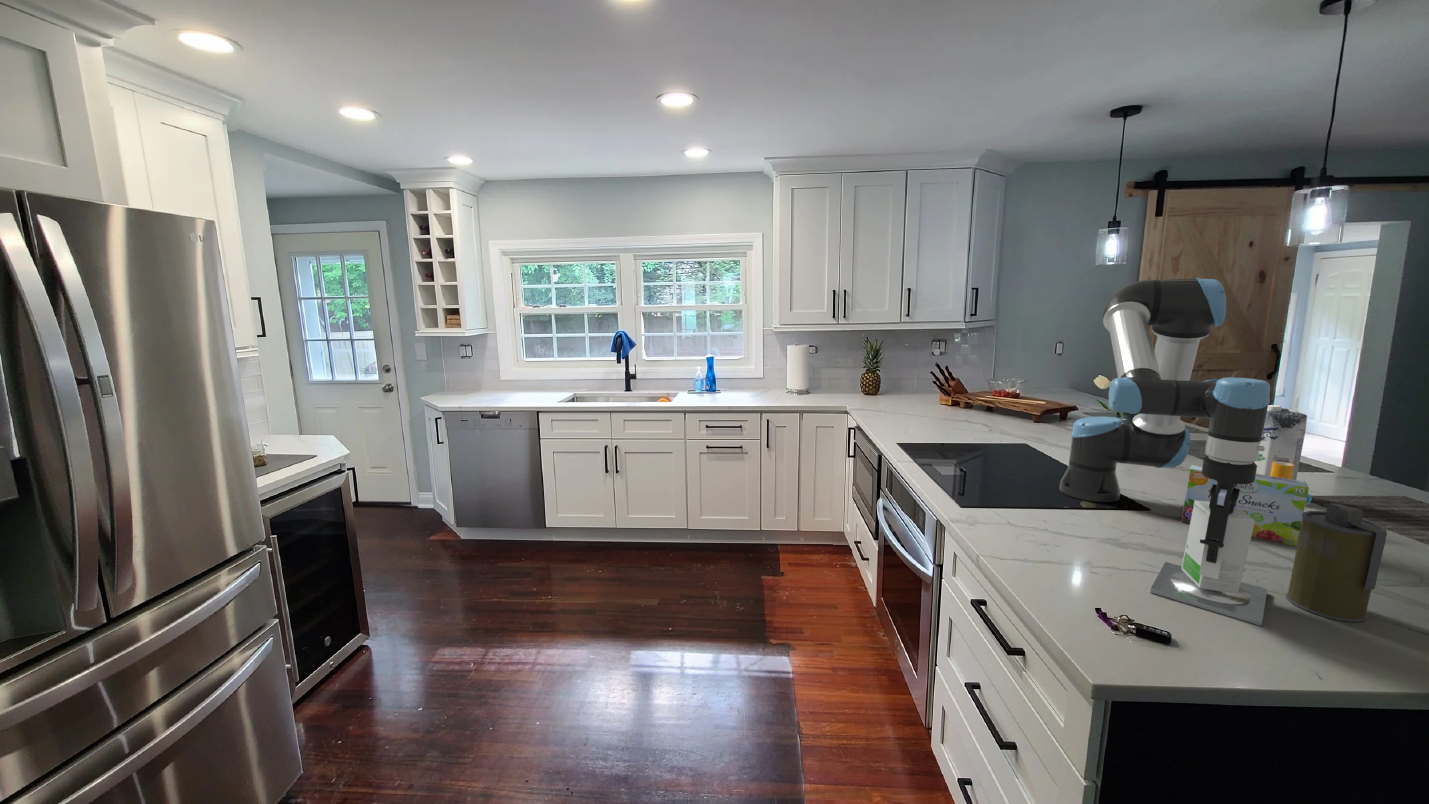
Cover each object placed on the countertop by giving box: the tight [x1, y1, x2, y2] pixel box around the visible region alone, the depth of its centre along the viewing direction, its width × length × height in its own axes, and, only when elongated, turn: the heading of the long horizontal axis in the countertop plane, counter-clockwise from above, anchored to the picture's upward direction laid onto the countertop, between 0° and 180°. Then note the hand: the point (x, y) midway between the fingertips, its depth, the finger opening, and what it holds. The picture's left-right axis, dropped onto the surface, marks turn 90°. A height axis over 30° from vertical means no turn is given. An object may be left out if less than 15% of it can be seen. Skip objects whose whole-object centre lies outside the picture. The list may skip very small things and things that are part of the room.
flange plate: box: [1150, 561, 1268, 627], centre depth 110 cm, size 16×16×1 cm
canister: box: [1285, 503, 1388, 623], centre depth 102 cm, size 11×10×20 cm
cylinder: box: [1270, 461, 1312, 506], centre depth 145 cm, size 12×10×15 cm
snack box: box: [1180, 464, 1310, 547], centre depth 137 cm, size 21×6×15 cm, turn 47°
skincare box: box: [1181, 501, 1255, 593], centre depth 108 cm, size 8×7×16 cm
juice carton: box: [1254, 404, 1308, 480], centre depth 160 cm, size 9×10×27 cm
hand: (1212, 567), depth 109 cm, fingers closed on skincare box, 10 cm apart
